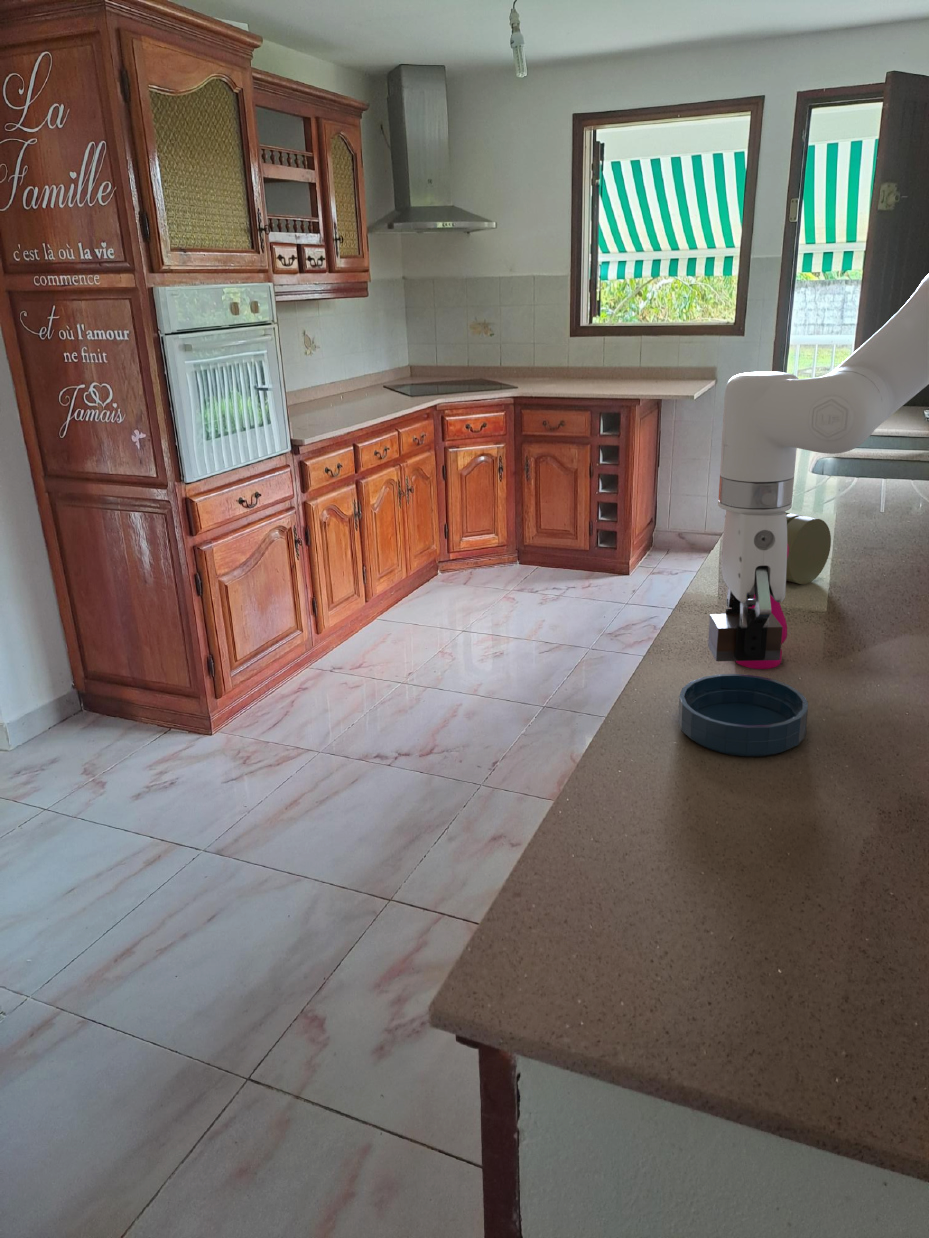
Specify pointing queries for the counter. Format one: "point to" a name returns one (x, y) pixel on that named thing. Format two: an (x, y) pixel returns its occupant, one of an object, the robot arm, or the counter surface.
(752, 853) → the counter surface
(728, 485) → the robot arm
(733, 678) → the bowl
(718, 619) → the shiny metal block
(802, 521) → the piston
